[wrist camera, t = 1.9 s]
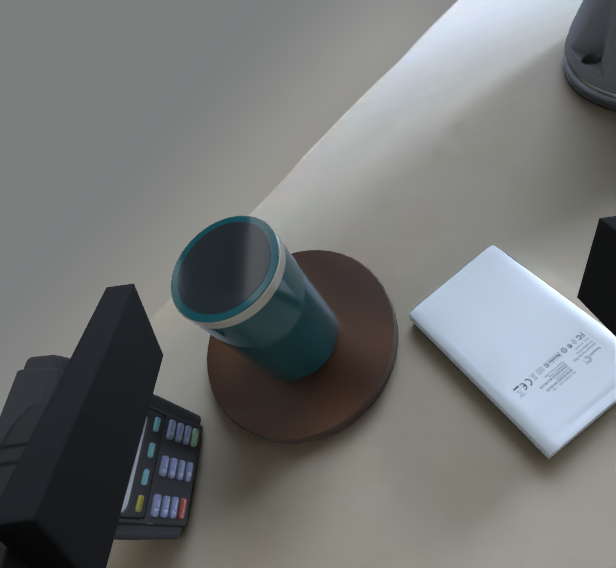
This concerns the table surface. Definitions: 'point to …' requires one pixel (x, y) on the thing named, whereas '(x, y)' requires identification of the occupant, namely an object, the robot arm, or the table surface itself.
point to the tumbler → (255, 298)
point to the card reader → (149, 459)
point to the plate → (331, 375)
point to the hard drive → (523, 348)
